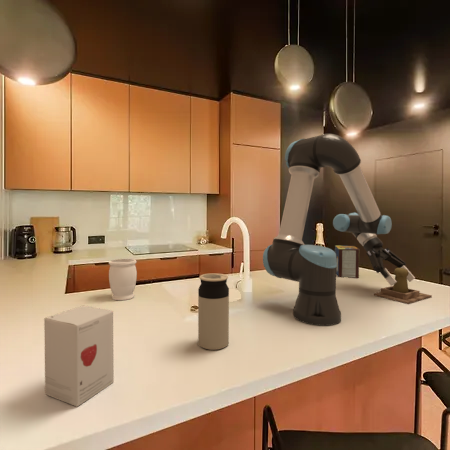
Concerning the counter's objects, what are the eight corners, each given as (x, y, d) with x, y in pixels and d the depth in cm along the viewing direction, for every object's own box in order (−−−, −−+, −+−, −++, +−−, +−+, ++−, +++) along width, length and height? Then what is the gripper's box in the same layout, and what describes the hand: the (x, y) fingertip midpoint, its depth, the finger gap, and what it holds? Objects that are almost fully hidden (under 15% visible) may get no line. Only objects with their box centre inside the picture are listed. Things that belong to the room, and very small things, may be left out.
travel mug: (204, 353, 73) (204, 280, 73) (194, 340, 81) (194, 274, 80) (233, 347, 77) (234, 278, 76) (221, 335, 84) (221, 272, 83)
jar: (115, 303, 113) (114, 263, 112) (105, 297, 120) (104, 260, 120) (141, 298, 120) (141, 260, 119) (130, 292, 127) (130, 257, 127)
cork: (411, 297, 120) (412, 269, 119) (395, 296, 121) (395, 269, 120) (405, 293, 126) (406, 267, 125) (390, 292, 127) (390, 266, 126)
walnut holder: (408, 304, 113) (408, 296, 113) (373, 295, 125) (373, 288, 125) (431, 297, 123) (431, 290, 122) (397, 289, 135) (397, 282, 134)
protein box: (353, 272, 172) (354, 245, 171) (358, 278, 157) (359, 249, 156) (334, 271, 174) (334, 245, 174) (337, 277, 159) (338, 248, 159)
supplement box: (76, 408, 53) (75, 325, 52) (43, 395, 56) (41, 317, 56) (115, 382, 61) (114, 309, 60) (84, 372, 65) (83, 303, 64)
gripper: (380, 245, 143) (412, 283, 130) (346, 248, 130) (378, 290, 118) (392, 235, 138) (426, 273, 126) (358, 237, 125) (392, 280, 113)
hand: (403, 282), depth 122 cm, fingers open, 13 cm apart
